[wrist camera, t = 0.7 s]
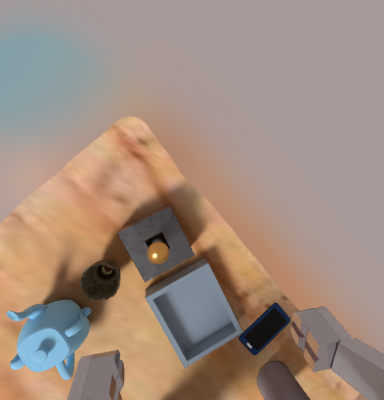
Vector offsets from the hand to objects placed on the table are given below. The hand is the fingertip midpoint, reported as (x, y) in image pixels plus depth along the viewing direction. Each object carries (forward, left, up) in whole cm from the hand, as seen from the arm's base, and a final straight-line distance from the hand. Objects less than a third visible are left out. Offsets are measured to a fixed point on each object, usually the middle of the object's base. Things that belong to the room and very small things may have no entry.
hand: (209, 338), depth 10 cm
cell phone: (-40, -10, -44) cm, 60 cm away
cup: (-5, +17, -43) cm, 47 cm away
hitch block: (-4, +4, -43) cm, 43 cm away
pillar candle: (-54, -6, -43) cm, 70 cm away
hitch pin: (-4, +4, -43) cm, 43 cm away
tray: (-24, +4, -43) cm, 50 cm away
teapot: (-10, +31, -43) cm, 54 cm away
